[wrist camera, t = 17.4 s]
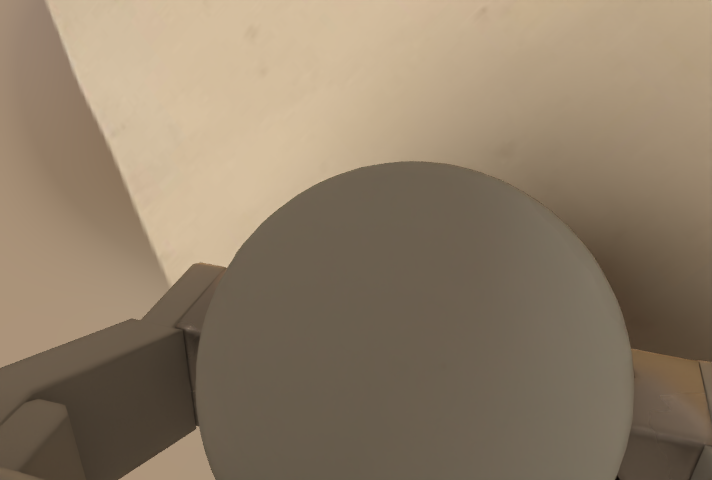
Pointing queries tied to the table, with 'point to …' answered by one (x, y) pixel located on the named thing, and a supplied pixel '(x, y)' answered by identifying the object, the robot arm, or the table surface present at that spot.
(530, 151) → the table surface
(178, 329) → the robot arm
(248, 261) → the pill bottle
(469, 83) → the table surface
